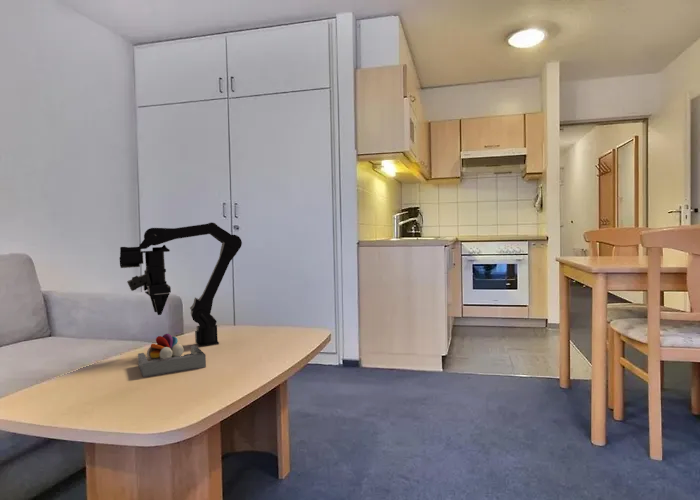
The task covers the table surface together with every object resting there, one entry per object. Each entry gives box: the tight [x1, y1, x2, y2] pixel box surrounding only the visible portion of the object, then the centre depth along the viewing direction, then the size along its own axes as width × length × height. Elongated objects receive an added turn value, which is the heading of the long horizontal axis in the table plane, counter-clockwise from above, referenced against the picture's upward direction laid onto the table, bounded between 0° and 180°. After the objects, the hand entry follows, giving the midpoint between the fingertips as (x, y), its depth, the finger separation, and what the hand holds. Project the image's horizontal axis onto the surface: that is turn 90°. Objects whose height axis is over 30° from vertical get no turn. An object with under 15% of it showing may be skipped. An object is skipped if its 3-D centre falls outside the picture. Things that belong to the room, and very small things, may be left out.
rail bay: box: [137, 345, 207, 378], centre depth 129 cm, size 16×14×4 cm
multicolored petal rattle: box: [146, 333, 184, 360], centre depth 139 cm, size 8×10×7 cm
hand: (157, 313), depth 150 cm, fingers open, 7 cm apart
